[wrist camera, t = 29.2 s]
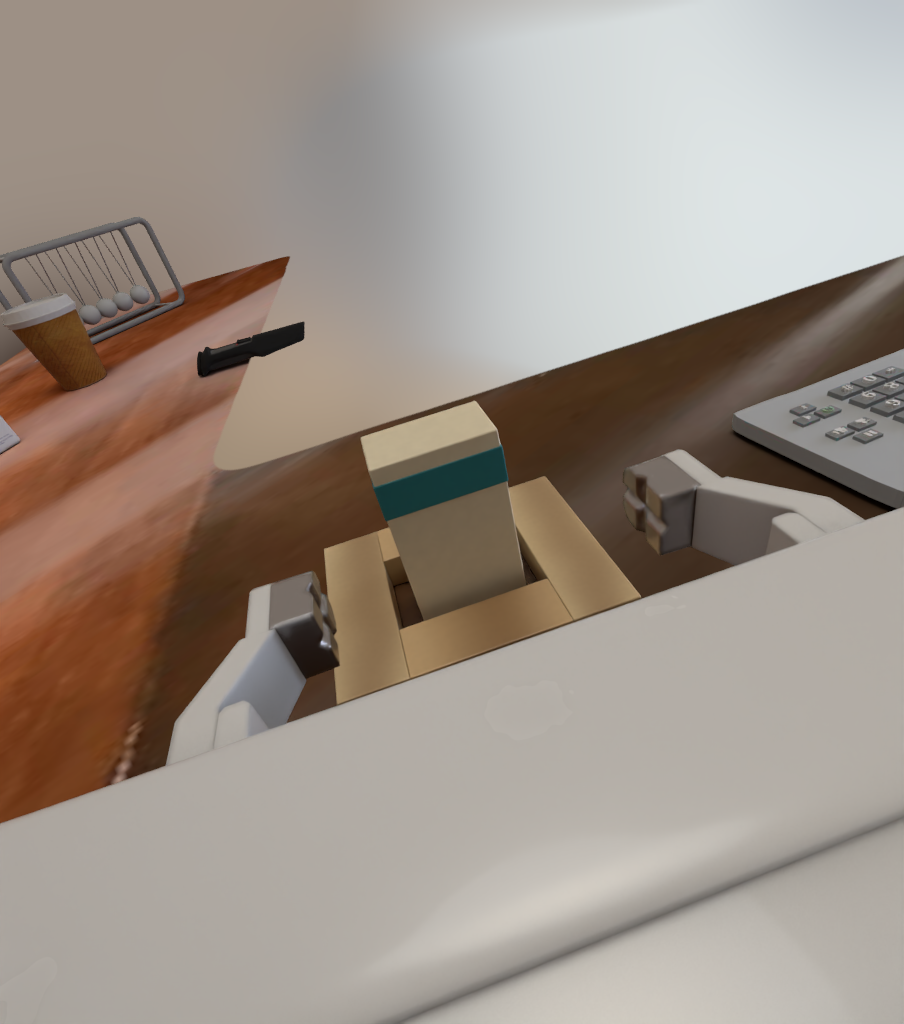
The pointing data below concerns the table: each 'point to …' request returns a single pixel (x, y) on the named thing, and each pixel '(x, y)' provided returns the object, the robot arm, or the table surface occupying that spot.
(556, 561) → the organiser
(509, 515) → the box
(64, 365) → the disposable coffee cup
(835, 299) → the table surface
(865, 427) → the office telephone
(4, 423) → the medicine box
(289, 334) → the electric trimmer
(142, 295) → the newton's cradle
